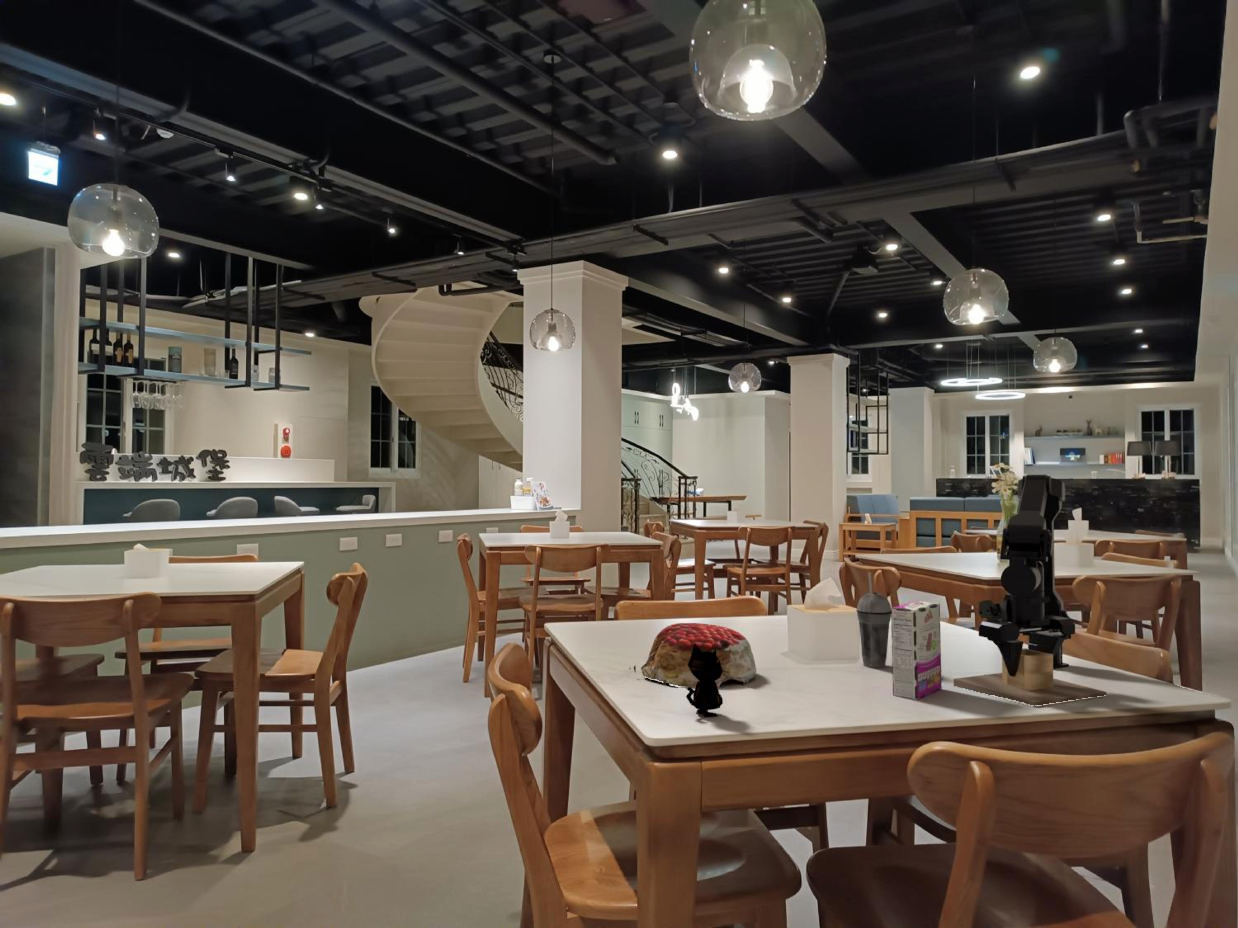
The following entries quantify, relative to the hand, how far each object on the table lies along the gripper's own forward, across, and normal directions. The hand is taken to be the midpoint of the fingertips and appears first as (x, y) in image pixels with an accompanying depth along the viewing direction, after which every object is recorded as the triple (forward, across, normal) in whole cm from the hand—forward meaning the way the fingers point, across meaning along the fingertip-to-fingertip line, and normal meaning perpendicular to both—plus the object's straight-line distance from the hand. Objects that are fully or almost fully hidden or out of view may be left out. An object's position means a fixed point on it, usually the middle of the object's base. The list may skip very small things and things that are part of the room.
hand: (1027, 674), depth 151 cm
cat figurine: (+4, +63, -9) cm, 64 cm away
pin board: (+4, 0, 0) cm, 4 cm away
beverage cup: (+4, +11, -29) cm, 31 cm away
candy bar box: (+4, +19, -8) cm, 21 cm away
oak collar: (+2, 0, 0) cm, 2 cm away
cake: (+4, +50, -36) cm, 62 cm away
